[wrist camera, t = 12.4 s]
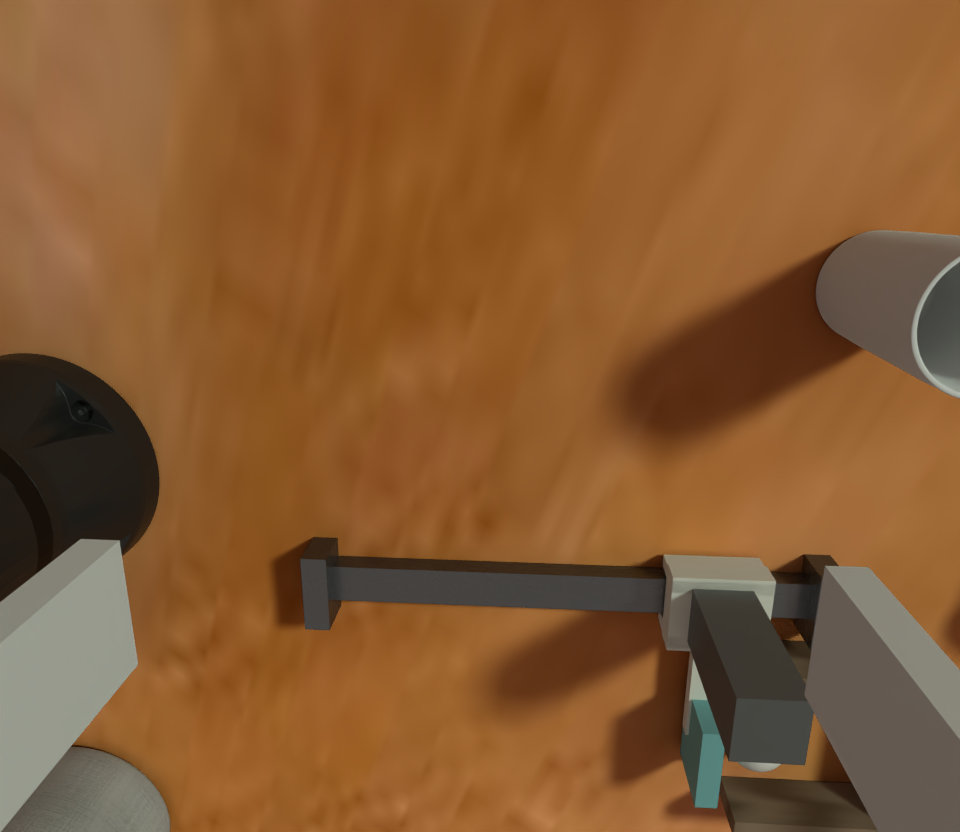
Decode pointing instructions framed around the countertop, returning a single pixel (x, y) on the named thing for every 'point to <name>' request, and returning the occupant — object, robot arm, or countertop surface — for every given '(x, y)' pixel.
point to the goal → (793, 793)
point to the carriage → (731, 670)
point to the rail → (518, 585)
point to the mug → (898, 301)
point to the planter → (92, 798)
